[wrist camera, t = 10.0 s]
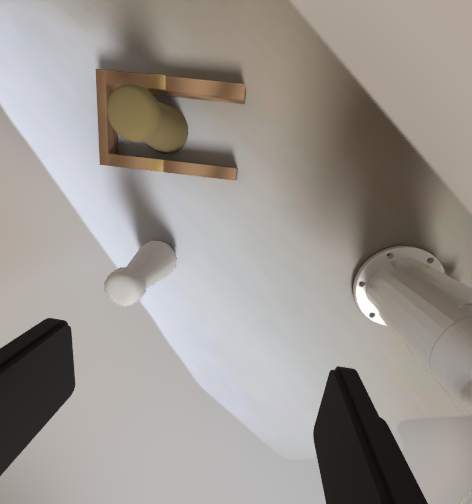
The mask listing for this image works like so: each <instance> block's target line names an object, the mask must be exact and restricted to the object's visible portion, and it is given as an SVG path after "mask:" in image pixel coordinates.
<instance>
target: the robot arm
mask: <svg viewBox="0 0 472 504" xmlns="http://www.w3.org/2000/svg"><path fill="white" fill-rule="evenodd" d="M388 253H389V254H388ZM387 254H388V255H387ZM359 282H360V283H359ZM353 296H354V300H355V302H356V305H357V306H358V308H359V309H360V311H361V312H362V313H363V314H364V315H365V316H366V317H367V318H368V319H370V320H371V321H373V322H375V323H378V324H381V325H385V326H388V327H389V328H390V329H391V330H392V332H393V333H394V334H395V335H396V336H397V337H398V338H399V340H400V341H401V342H402V343H403V344H404V345H405V346H406V348H407V349H408V350H409V351H410V352H411V353H412V354H413V356H414V357H415V358H416V359H417V360H418V361H419V362H420V364H421V365H422V366H423V367H424V368H425V369H426V370H427V372H428V373H429V374H430V375H431V376H432V377H433V378H434V380H435V381H436V382H437V383H438V384H439V385H440V386H441V387H442V388H443V389H444V391H445V392H446V393H447V394H448V395H449V396H450V397H451V398H452V399H453V400H454V401H456V402H457V403H458V404H459V405H461V406H462V407H464V408H465V409H467V410H468V411H470V412H472V288H470V287H468V286H467V285H465V284H463V283H461V282H459V281H457V280H455V279H453V278H451V277H449V276H447V275H445V271H444V268H443V266H442V265H441V263H440V262H439V261H438V259H437V258H436V257H434V256H433V255H432V254H430V253H429V252H427V251H425V250H422V249H420V248H416V247H412V246H395V247H391V248H387V249H384V250H382V251H380V252H378V253H376V254H375V255H373V256H371V257H370V258H369V259H368V260H367V261H366V262H365V263H364V264H363V265H362V266H361V268H360V269H359V271H358V273H357V274H356V277H355V280H354V284H353ZM74 388H75V376H74V362H73V349H72V335H71V327H70V326H68V323H67V322H66V321H64V320H58V319H53V318H47V319H46V320H43V321H42V322H40V323H39V324H37V325H36V326H34V327H33V328H31V329H30V330H28V331H27V332H25V333H23V334H22V335H21V336H19V337H17V338H16V339H14V340H13V341H11V342H10V343H8V344H7V345H5V346H4V347H2V348H1V349H0V476H1V474H2V473H3V472H4V471H5V470H6V469H7V468H8V466H9V465H10V464H11V463H12V462H13V461H14V460H15V458H16V457H17V456H18V455H19V454H20V453H21V452H22V451H23V449H24V448H25V447H26V446H27V445H28V444H29V443H30V441H31V440H32V439H33V438H34V437H35V436H36V435H37V433H38V432H39V431H40V430H41V429H42V428H43V427H44V426H45V424H46V423H47V422H48V421H49V420H50V419H51V418H52V416H53V415H54V414H55V413H56V412H57V411H58V409H59V408H60V407H61V406H62V405H63V404H64V403H65V402H66V400H67V399H68V398H69V397H70V396H71V394H72V393H73V391H74ZM314 444H315V449H316V454H317V459H318V463H319V469H320V474H321V479H322V484H323V489H324V494H325V499H326V504H428V503H427V501H426V499H425V497H424V495H423V493H422V491H421V489H420V487H419V486H418V484H417V482H416V480H415V478H414V476H413V474H412V472H411V470H410V468H409V466H408V464H407V462H406V460H405V458H404V456H403V454H402V452H401V450H400V448H399V446H398V444H397V442H396V440H395V438H394V436H393V435H392V433H391V431H390V429H389V427H388V425H387V423H386V422H385V420H383V419H382V418H380V417H379V415H378V413H377V411H376V409H375V407H374V405H373V403H372V401H371V399H370V397H369V395H368V393H367V391H366V389H365V387H364V385H363V383H362V381H361V379H360V377H359V375H358V373H357V371H356V370H355V369H351V368H345V367H339V366H338V367H336V369H335V370H331V371H330V373H329V376H328V380H327V383H326V387H325V391H324V394H323V398H322V401H321V405H320V408H319V412H318V416H317V419H316V423H315V426H314ZM460 504H472V491H471V492H470V493H469V495H468V496H466V498H465V499H464V500H463V501H462V502H461V503H460Z"/></svg>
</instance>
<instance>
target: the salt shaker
mask: <svg viewBox="0 0 472 504" xmlns="http://www.w3.org/2000/svg"><path fill="white" fill-rule="evenodd" d="M175 267H176V255H175V253H174V251H173V249H172V248H171V247H170V246H169V245H168V244H166V243H164V242H161V241H149V242H147V243H146V244H144V245H142V246H141V248H140V249H139V250H138V252H137V253H136V255H135V256H134V257H133V259H132V260H131V262H130V263H129V264H128V266H127V267H125V268H119V269H117V270H115V271H114V272H112V273H111V274H110V275H109V276H108V277H107V279H106V281H105V292H106V294H107V296H108V298H109V299H110V300H112V301H113V302H114V303H115V304H118V305H121V306H130V305H132V304H134V303H136V302H138V301H139V300H140V299H141V298H142V297H143V295H144V293H145V292H146V288H148V287H149V286H151V285H153V284H155V283H156V282H158V281H160V280H162V279H163V278H165V277H167V276H169V275H170V274H171V273H172V272H173V270H174V268H175Z"/></svg>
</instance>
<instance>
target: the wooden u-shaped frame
mask: <svg viewBox="0 0 472 504" xmlns="http://www.w3.org/2000/svg"><path fill="white" fill-rule="evenodd" d="M123 84H136V85H139V86H142V87H144V88H145V89H146V90H148V91H149V92H150V93H152V94H153V95H163V96H173V97H182V98H192V99H201V100H211V101H220V102H230V103H240V104H245V97H246V86H245V84H240V83H230V82H220V81H210V80H200V79H190V78H180V77H170V76H166V75H159V74H141V73H131V72H121V71H111V70H101V69H96V85H97V108H98V130H99V153H100V165H108V166H116V167H125V168H134V169H142V170H150V171H159V172H168V173H176V174H185V175H194V176H202V177H211V178H219V179H228V180H237V171H238V169H237V168H229V167H220V166H212V165H203V164H194V163H186V162H177V161H168V160H160V159H151V158H142V157H133V156H125V155H118V133H117V132H116V131H115V130H114V128H113V127H112V126H111V123H110V121H109V119H108V114H107V104H108V99H109V97H110V95H111V93H112V92H113V91H114V90H115V89H116V88H117V87H118V86H121V85H123Z"/></svg>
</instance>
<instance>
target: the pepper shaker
mask: <svg viewBox="0 0 472 504" xmlns="http://www.w3.org/2000/svg"><path fill="white" fill-rule="evenodd" d="M107 114H108V119H109V121H110V123H111V126H112V127H113V128H114V130H115V131H116V132H117V133H118V134H119V135H121V136H122V137H123V138H125V139H127V140H130V141H133V142H145V143H146V144H148V145H149V146H151V147H152V148H154V149H155V150H157V151H158V152H161V153H164V154H171V153H174V152H177V151H178V150H180V149H181V148H182V147H183V145H184V144H185V142H186V140H187V136H188V126H187V123H186V120H185V118H184V116H183V115H182V113H181V112H180V111H178V110H177V109H176V108H174V107H172V106H169V105H166V104H163V103H160V102H158V101H157V100H156V99H155V97H154V96H153V94H152V93H150V92H149V91H148V90H146V89H145V88H144V87H142V86H139V85H136V84H123V85H121V86H118V87H117V88H116V89H115V90H114V91H113V92H112V93H111V95H110V97H109V99H108V104H107Z"/></svg>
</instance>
